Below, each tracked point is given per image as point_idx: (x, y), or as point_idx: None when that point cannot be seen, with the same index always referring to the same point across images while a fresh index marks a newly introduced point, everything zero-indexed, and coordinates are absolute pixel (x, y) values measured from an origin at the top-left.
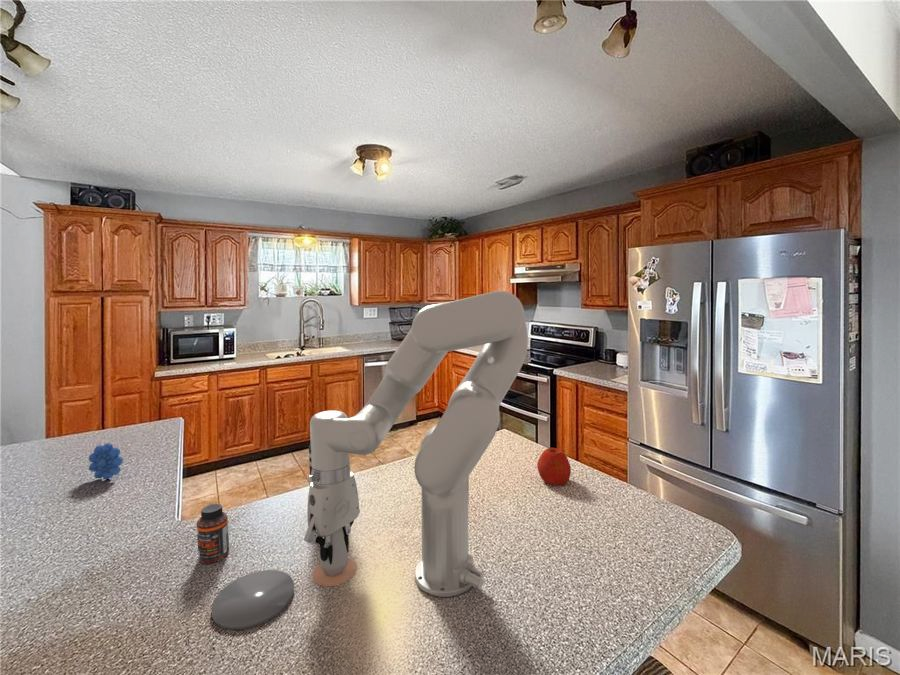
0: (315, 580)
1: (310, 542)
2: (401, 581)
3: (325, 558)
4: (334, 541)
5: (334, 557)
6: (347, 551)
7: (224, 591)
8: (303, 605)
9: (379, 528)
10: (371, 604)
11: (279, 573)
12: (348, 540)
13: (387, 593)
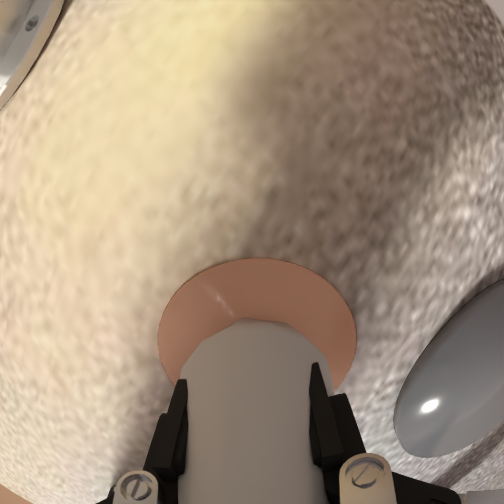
0: (350, 352)
1: (502, 492)
2: (73, 76)
3: (346, 402)
4: (294, 480)
5: (299, 383)
6: (185, 385)
7: (496, 422)
8: (451, 258)
9: (30, 400)
10: (255, 34)
11: (408, 433)
12: (153, 436)
13: (158, 44)
